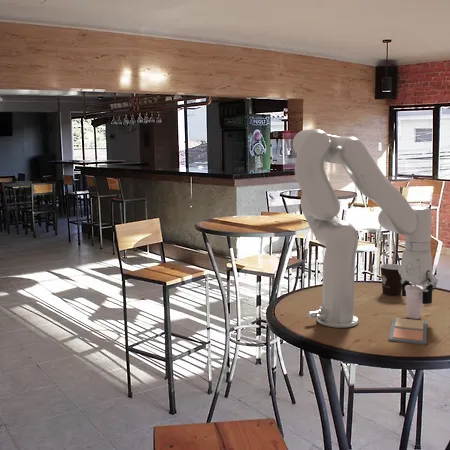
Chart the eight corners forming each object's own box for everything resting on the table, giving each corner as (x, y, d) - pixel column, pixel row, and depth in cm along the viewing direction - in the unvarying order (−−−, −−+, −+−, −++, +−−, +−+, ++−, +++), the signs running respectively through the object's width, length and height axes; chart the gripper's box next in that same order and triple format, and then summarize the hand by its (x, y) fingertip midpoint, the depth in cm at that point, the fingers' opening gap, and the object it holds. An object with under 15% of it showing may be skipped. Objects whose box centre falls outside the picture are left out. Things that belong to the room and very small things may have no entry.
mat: (426, 344, 159) (426, 341, 158) (388, 340, 162) (388, 337, 162) (427, 322, 177) (427, 319, 177) (393, 319, 180) (393, 316, 180)
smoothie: (401, 318, 182) (403, 274, 179) (405, 312, 187) (407, 270, 185) (422, 321, 179) (424, 277, 177) (426, 315, 184) (428, 272, 182)
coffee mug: (378, 289, 215) (379, 263, 213) (402, 290, 214) (403, 264, 212) (382, 298, 204) (383, 271, 202) (407, 299, 202) (408, 271, 201)
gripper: (390, 242, 186) (389, 294, 189) (427, 252, 170) (425, 308, 173) (409, 240, 189) (408, 291, 191) (447, 250, 173) (445, 305, 176)
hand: (416, 299), depth 182 cm, fingers open, 9 cm apart
